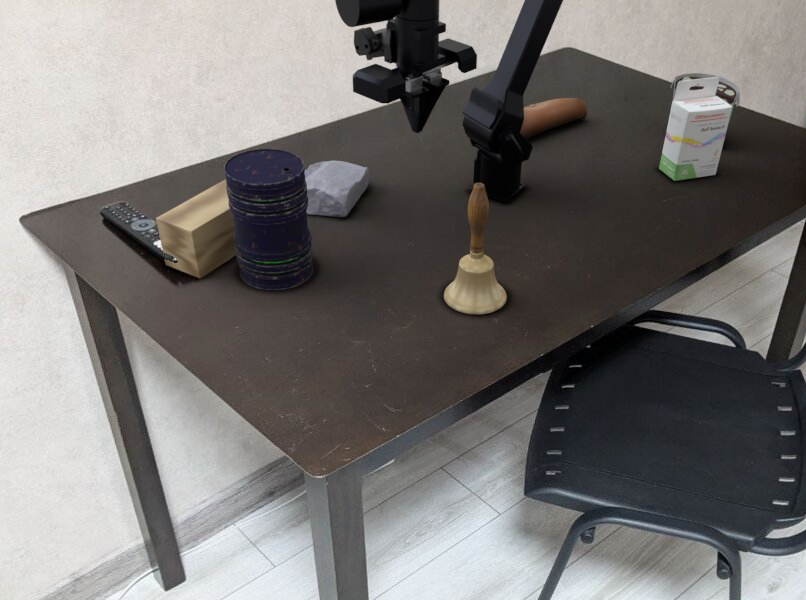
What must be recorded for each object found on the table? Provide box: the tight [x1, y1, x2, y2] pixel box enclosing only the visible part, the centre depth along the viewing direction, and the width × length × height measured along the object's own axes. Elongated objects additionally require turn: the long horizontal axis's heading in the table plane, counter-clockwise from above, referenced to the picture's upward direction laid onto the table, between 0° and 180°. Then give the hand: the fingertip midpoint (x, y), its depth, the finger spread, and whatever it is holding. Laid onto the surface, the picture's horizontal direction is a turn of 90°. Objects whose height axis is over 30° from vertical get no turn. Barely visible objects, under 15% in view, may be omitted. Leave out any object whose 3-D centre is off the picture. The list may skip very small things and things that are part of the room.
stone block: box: [304, 159, 371, 218], centre depth 137 cm, size 12×5×10 cm
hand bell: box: [443, 183, 508, 316], centre depth 115 cm, size 8×8×16 cm
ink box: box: [658, 76, 732, 182], centre depth 146 cm, size 9×5×15 cm, turn 114°
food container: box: [669, 72, 741, 121], centre depth 159 cm, size 12×6×10 cm, turn 58°
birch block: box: [155, 178, 237, 279], centre depth 123 cm, size 6×14×7 cm, turn 151°
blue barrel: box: [223, 148, 314, 291], centre depth 117 cm, size 10×10×15 cm
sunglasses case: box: [520, 97, 588, 140], centre depth 160 cm, size 18×7×7 cm
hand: (416, 131), depth 127 cm, fingers closed
